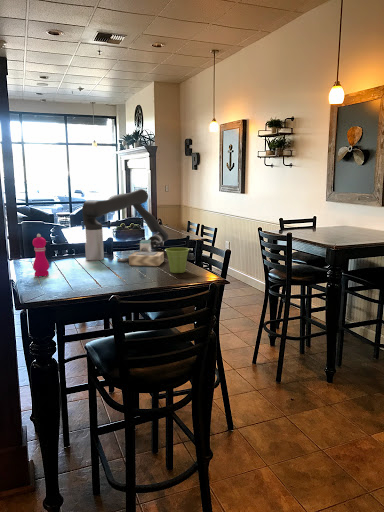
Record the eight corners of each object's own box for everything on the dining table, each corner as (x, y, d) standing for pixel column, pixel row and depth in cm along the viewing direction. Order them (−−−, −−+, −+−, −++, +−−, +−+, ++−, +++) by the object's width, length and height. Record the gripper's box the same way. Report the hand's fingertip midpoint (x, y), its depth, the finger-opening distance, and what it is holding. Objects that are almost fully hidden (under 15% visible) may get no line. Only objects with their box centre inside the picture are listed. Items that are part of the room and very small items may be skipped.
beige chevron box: (129, 265, 219) (129, 255, 218) (135, 260, 231) (135, 250, 230) (159, 265, 217) (158, 255, 216) (163, 260, 229) (163, 251, 228)
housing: (140, 259, 235) (139, 241, 233) (142, 257, 241) (142, 239, 240) (148, 259, 234) (148, 241, 233) (151, 257, 241) (150, 239, 239)
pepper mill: (45, 273, 201) (42, 232, 198) (52, 275, 196) (49, 233, 193) (31, 275, 196) (27, 233, 193) (37, 278, 191) (34, 235, 188)
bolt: (117, 262, 226) (117, 257, 225) (117, 261, 229) (117, 256, 228) (131, 261, 227) (131, 256, 227) (131, 260, 230) (131, 255, 230)
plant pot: (192, 269, 206) (191, 247, 204) (186, 275, 195) (186, 251, 193) (169, 268, 209) (168, 246, 207) (162, 274, 198) (161, 250, 196)
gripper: (144, 235, 263) (137, 238, 247) (166, 235, 261) (160, 239, 245) (144, 246, 264) (137, 251, 248) (166, 247, 262) (161, 251, 246)
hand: (149, 245), depth 247 cm, fingers open, 8 cm apart
